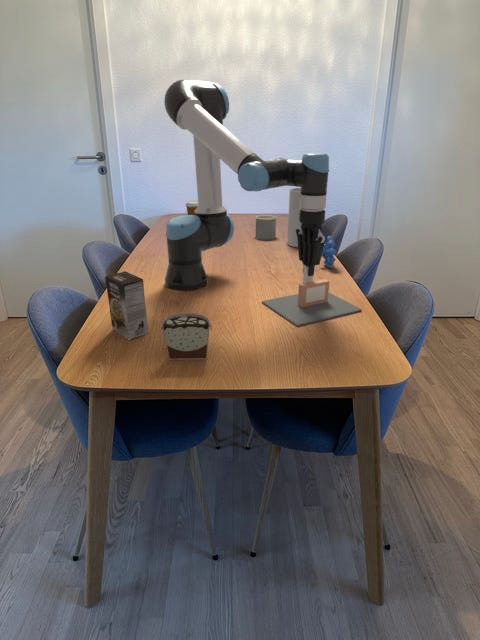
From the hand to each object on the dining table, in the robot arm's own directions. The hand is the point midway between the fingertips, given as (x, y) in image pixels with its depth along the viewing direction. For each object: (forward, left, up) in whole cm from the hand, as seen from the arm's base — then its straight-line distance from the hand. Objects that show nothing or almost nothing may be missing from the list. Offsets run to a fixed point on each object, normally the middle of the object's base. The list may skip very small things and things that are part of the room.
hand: (307, 284), depth 138 cm
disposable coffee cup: (+12, +124, -6) cm, 125 cm away
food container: (-46, -14, -6) cm, 48 cm away
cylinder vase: (+39, +59, -6) cm, 71 cm away
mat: (-1, -4, -6) cm, 7 cm away
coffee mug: (+32, +80, -6) cm, 87 cm away
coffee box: (-56, +5, -6) cm, 57 cm away
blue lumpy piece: (+29, +27, -6) cm, 40 cm away
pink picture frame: (0, -3, -6) cm, 6 cm away
